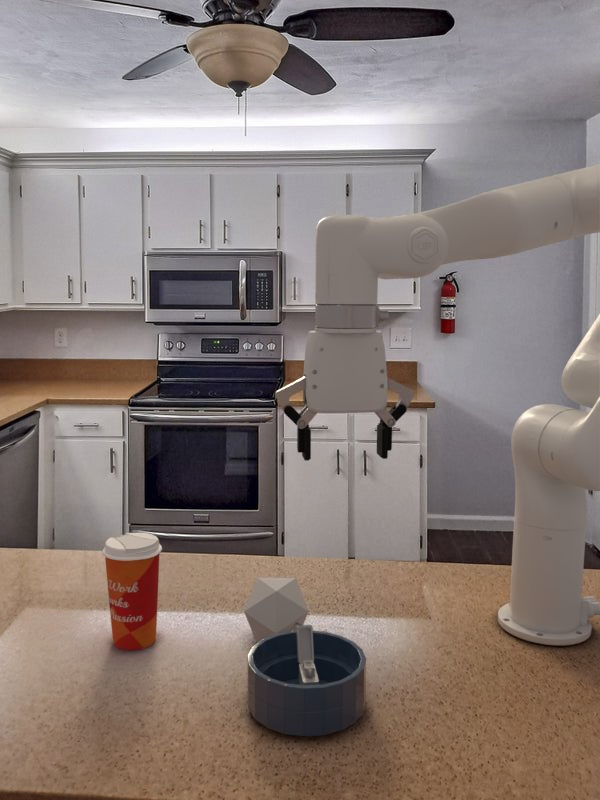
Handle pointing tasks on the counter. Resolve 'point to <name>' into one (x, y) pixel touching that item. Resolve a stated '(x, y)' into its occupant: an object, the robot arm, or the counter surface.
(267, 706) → the bowl
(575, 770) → the counter surface
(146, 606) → the paper cup
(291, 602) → the grey polyhedron
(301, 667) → the lighter
